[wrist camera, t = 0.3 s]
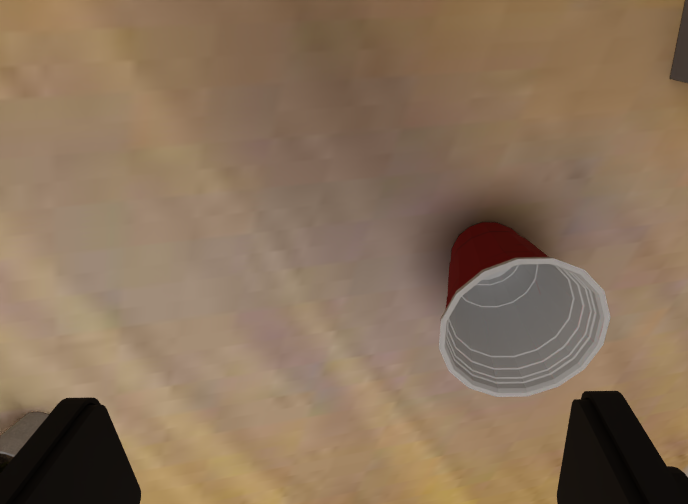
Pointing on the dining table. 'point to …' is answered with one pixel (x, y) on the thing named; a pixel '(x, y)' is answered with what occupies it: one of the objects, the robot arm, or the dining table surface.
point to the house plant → (18, 436)
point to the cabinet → (681, 50)
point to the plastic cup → (517, 315)
